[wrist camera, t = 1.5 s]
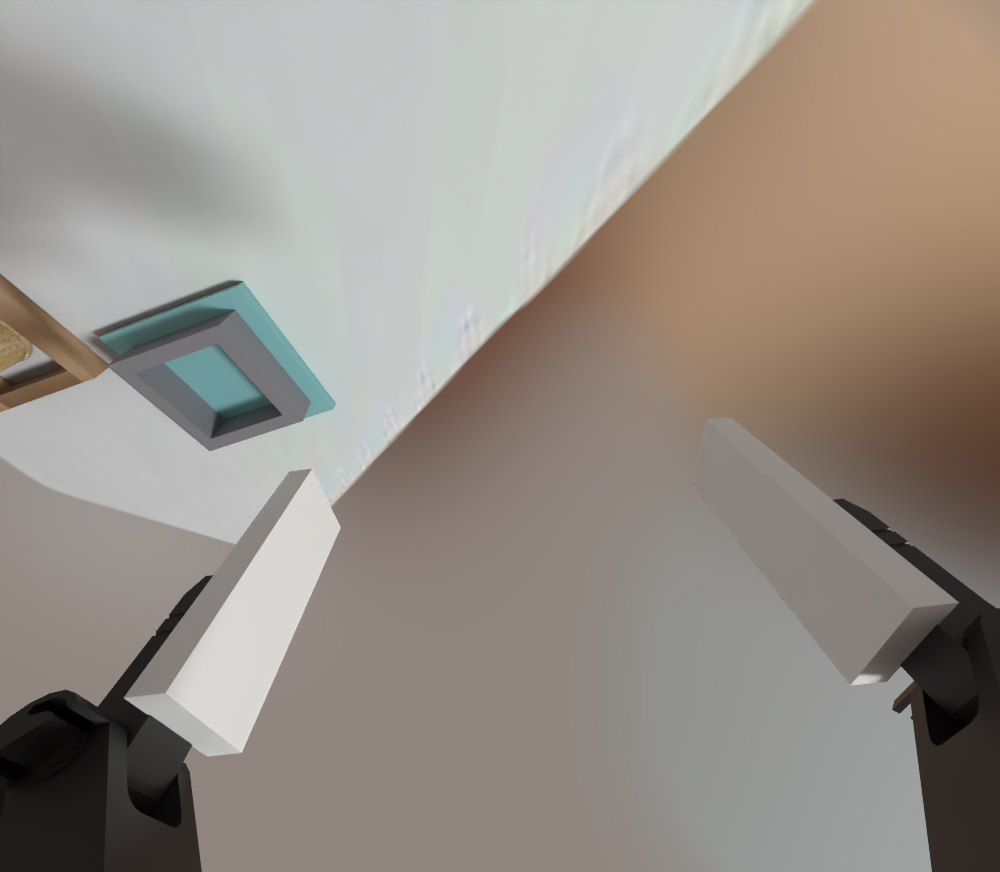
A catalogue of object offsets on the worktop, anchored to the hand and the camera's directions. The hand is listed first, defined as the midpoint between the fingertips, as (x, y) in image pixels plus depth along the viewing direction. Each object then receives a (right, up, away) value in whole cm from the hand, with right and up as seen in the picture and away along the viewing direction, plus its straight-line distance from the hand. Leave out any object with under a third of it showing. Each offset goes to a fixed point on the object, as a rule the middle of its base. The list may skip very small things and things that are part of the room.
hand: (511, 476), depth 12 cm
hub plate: (-26, +7, +22) cm, 34 cm away
